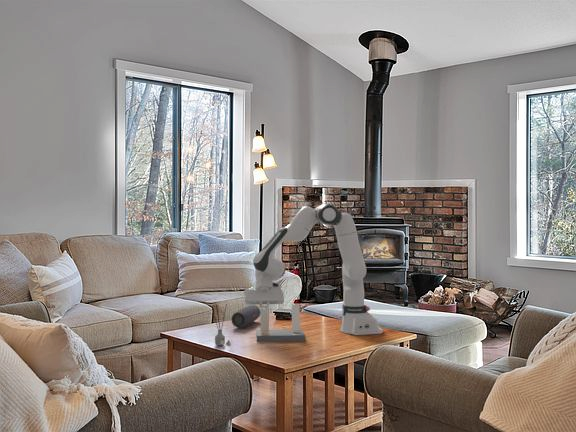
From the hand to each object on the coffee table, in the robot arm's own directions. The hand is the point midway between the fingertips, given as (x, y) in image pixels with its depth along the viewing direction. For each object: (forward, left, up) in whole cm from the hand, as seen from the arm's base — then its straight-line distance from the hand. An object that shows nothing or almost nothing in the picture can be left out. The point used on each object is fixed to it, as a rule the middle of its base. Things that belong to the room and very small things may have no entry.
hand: (264, 310), depth 309 cm
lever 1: (0, +3, -11) cm, 11 cm away
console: (-8, +3, -14) cm, 16 cm away
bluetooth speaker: (+9, -28, -14) cm, 33 cm away
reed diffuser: (+22, +14, -14) cm, 30 cm away
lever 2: (-16, +3, -11) cm, 20 cm away
